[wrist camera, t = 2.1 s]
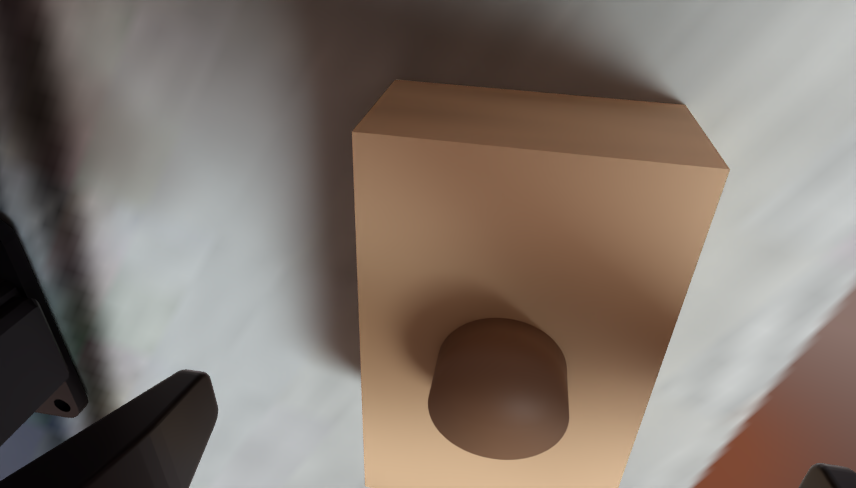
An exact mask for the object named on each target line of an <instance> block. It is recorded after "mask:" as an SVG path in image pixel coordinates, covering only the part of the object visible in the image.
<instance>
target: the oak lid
mask: <svg viewBox="0 0 856 488" xmlns="http://www.w3.org/2000/svg"><path fill="white" fill-rule="evenodd" d="M352 149H353V176H354V202H355V229H356V255H357V282H358V308H359V335H360V362H361V388H362V415H363V441H364V468H365V486H366V487H372V488H618V487H619V484H620V481H621V478H622V475H623V472H624V470H625V467H626V464H627V461H628V458H629V455H630V452H631V450H632V447H633V444H634V441H635V438H636V435H637V433H638V430H639V427H640V424H641V421H642V418H643V415H644V413H645V410H646V407H647V404H648V401H649V398H650V396H651V393H652V390H653V387H654V384H655V381H656V379H657V376H658V373H659V370H660V367H661V364H662V361H663V359H664V356H665V353H666V350H667V347H668V344H669V342H670V339H671V336H672V333H673V330H674V327H675V324H676V322H677V319H678V316H679V313H680V310H681V307H682V305H683V302H684V299H685V296H686V293H687V290H688V287H689V285H690V282H691V279H692V276H693V273H694V270H695V268H696V265H697V262H698V259H699V256H700V253H701V251H702V248H703V245H704V242H705V239H706V236H707V233H708V231H709V228H710V225H711V222H712V219H713V216H714V214H715V211H716V208H717V205H718V202H719V199H720V196H721V194H722V191H723V188H724V185H725V182H726V179H727V177H728V174H729V171H730V169H729V168H728V166H727V165H726V163H725V162H724V160H723V159H722V157H721V156H720V154H719V153H718V152H717V150H716V149H715V147H714V146H713V144H712V143H711V141H710V140H709V139H708V137H707V136H706V134H705V133H704V131H703V130H702V128H701V127H700V125H699V124H698V123H697V121H696V120H695V118H694V117H693V115H692V114H691V112H690V111H689V110H688V108H687V107H686V105H681V104H670V103H658V102H647V101H636V100H624V99H613V98H601V97H590V96H578V95H567V94H556V93H544V92H533V91H521V90H510V89H499V88H487V87H476V86H464V85H453V84H442V83H430V82H419V81H407V80H396V79H395V80H394V82H393V83H392V84H391V85H390V86H389V88H388V89H387V90H386V91H385V92H384V94H383V95H382V96H381V97H380V98H379V100H378V101H377V102H376V103H375V104H374V106H373V107H372V108H371V109H370V110H369V112H368V113H367V114H366V115H365V116H364V118H363V119H362V120H361V121H360V122H359V124H358V125H357V126H356V127H355V129H354V130H353V131H352Z"/></svg>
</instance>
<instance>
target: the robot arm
mask: <svg viewBox="0 0 856 488" xmlns="http://www.w3.org/2000/svg"><path fill="white" fill-rule="evenodd" d="M87 404H88V398H87V396H86V393H85V391H84V389H83V386H82V384H81V382H80V380H79V377H78V375H77V373H76V370H75V368H74V366H73V364H72V361H71V359H70V357H69V354H68V352H67V350H66V347H65V345H64V343H63V341H62V338H61V336H60V334H59V331H58V329H57V327H56V324H55V322H54V320H53V318H52V315H51V313H50V311H49V308H48V306H47V304H46V302H45V299H44V297H43V295H42V292H41V290H40V288H39V285H38V283H37V281H36V279H35V276H34V274H33V272H32V269H31V267H30V265H29V263H28V260H27V258H26V256H25V253H24V251H23V249H22V246H21V244H20V242H19V240H18V237H17V236H16V234H15V232H14V231H13V230H12V229H11V228H10V227H9V226H8V225H7V224H6V223H5V222H3V221H1V220H0V446H1V445H2V444H3V443H4V442H5V441H6V440H7V439H8V438H9V437H10V436H11V435H12V434H13V433H14V432H15V431H16V430H17V429H18V428H19V427H20V426H21V425H22V424H23V423H24V422H25V421H26V420H27V419H28V418H29V417H30V416H31V415H32V414H33V413H34V412H38V413H44V414H50V415H56V416H62V417H68V418H74V417H76V416H78V414H79V413H80V412H81V411H82V410H83V409H84V408H85V407H86V406H87ZM217 416H218V405H217V402H216V398H215V394H214V390H213V386H212V383H211V379H210V376H209V375H208V374H207V373H205V372H201V371H194V370H187V369H185V370H181V371H178V372H176V373H175V374H173V375H172V376H170V377H168V378H167V379H165V380H163V381H162V382H160V383H159V384H157V385H155V386H154V387H152V388H150V389H149V390H147V391H146V392H144V393H142V394H141V395H139V396H137V397H136V398H134V399H133V400H131V401H129V402H128V403H126V404H125V405H123V406H121V407H120V408H118V409H116V410H115V411H113V412H112V413H110V414H108V415H107V416H105V417H103V418H102V419H100V420H99V421H97V422H95V423H94V424H92V425H90V426H89V427H87V428H86V429H84V430H82V431H81V432H79V433H78V434H76V435H74V436H73V437H71V438H69V439H68V440H66V441H65V442H63V443H61V444H60V445H58V446H56V447H55V448H53V449H52V450H50V451H48V452H47V453H45V454H43V455H42V456H40V457H39V458H37V459H35V460H34V461H32V462H30V463H29V464H27V465H26V466H24V467H22V468H21V469H19V470H18V471H16V472H14V473H13V474H11V475H9V476H8V477H6V478H5V479H3V480H1V481H0V488H189V486H190V484H191V481H192V479H193V476H194V474H195V472H196V469H197V467H198V464H199V462H200V460H201V457H202V455H203V452H204V450H205V447H206V445H207V443H208V440H209V438H210V435H211V433H212V430H213V428H214V426H215V423H216V420H217ZM799 488H856V473H855V472H854V471H852V470H851V469H849V468H846V467H842V466H836V465H829V464H823V463H817V464H815V465H813V466H812V467H811V468H810V469H809V471H808V473H807V474H806V476H805V478H804V479H803V481H802V483H801V484H800V486H799Z"/></svg>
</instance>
